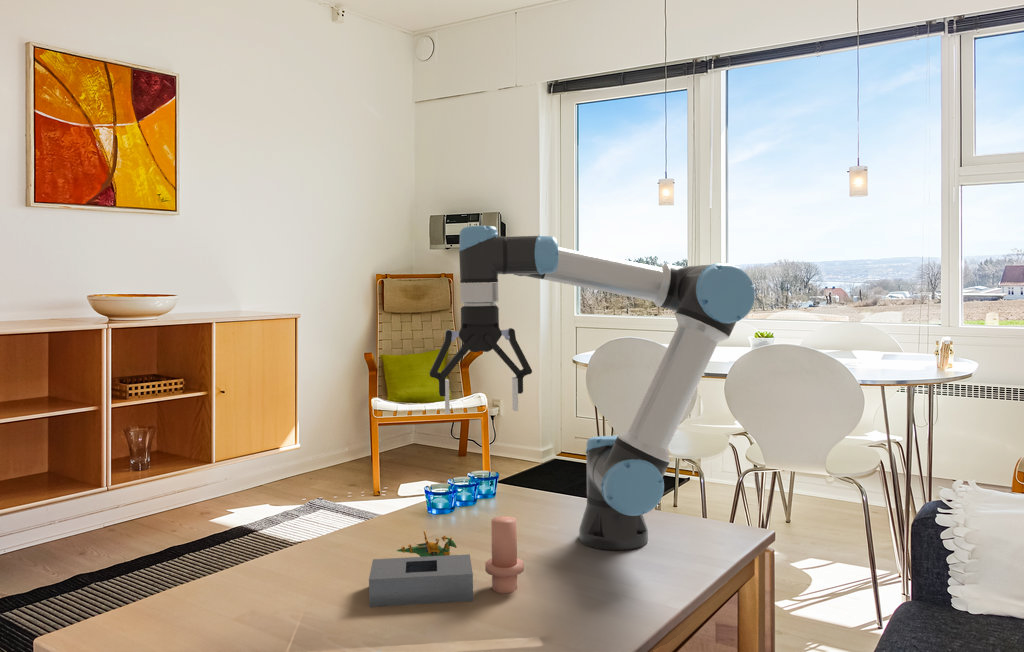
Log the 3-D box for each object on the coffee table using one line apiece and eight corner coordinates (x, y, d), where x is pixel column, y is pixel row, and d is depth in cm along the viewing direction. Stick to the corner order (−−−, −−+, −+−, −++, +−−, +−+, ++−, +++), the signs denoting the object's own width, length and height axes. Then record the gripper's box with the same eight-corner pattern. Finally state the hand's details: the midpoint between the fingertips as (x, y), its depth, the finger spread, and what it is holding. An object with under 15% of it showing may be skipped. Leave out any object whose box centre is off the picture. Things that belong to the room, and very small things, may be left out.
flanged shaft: (521, 585, 144) (520, 513, 143) (526, 601, 137) (525, 525, 136) (484, 587, 143) (483, 515, 142) (487, 603, 136) (486, 526, 135)
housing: (470, 585, 144) (469, 554, 144) (473, 607, 134) (472, 573, 134) (373, 590, 142) (373, 559, 142) (369, 613, 132) (368, 579, 132)
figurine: (458, 571, 152) (457, 530, 151) (397, 577, 149) (396, 535, 149) (455, 565, 155) (455, 526, 154) (396, 571, 152) (395, 531, 152)
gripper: (538, 303, 157) (540, 406, 158) (415, 305, 153) (418, 410, 154) (544, 303, 149) (546, 411, 150) (416, 306, 146) (418, 416, 147)
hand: (481, 411), depth 152 cm, fingers open, 13 cm apart
